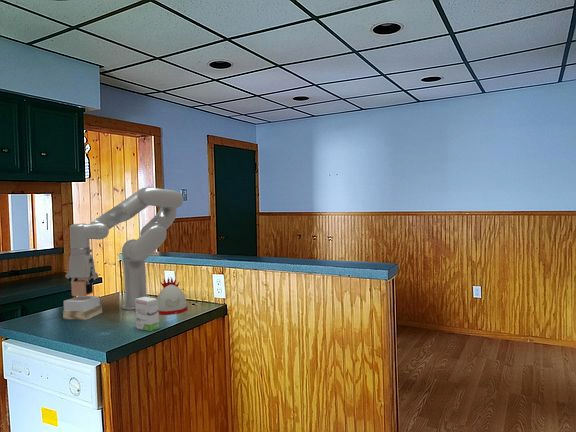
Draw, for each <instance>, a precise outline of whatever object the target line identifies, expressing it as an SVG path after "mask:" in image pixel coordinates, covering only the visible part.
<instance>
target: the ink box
mask: <svg viewBox="0 0 576 432" xmlns="http://www.w3.org/2000/svg"><path fill="white" fill-rule="evenodd" d="M135 307H136V309H135V322H136V323H135V324H136V329H138V330H143V331H147V332H152V331H156V330H158V329H160V314H159V311H158V299H157V298H156V297H154V298H153V297H150V296H149V297H141V298H136V299H135Z"/></svg>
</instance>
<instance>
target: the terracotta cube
mask: <svg viewBox="0 0 576 432" xmlns="http://www.w3.org/2000/svg"><path fill="white" fill-rule="evenodd" d="M70 284H71V289H70V290H71V297H78V296H90V295H91V294H94V286H93V285H94V282H93V283H92V292H91V293H89V294H87V293H86V285H87V282H86V280H85V278H79V279H78V280H77V281H74V282H70Z"/></svg>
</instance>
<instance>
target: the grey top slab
mask: <svg viewBox="0 0 576 432" xmlns="http://www.w3.org/2000/svg"><path fill="white" fill-rule="evenodd" d="M100 300H101V299H100V296H99V295H98V296H96V295H86V296H74V297H72V298H68V299H65V300H63V311H64V310H67V311H86V310H88V309H91V308H94V307H96V306H99V305H100V304H101V302H100Z"/></svg>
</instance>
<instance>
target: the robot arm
mask: <svg viewBox="0 0 576 432" xmlns="http://www.w3.org/2000/svg"><path fill="white" fill-rule="evenodd" d="M183 204H184V196H183V194H182V193H181V192H180V191H178V190H173V189H166V188H165V189H164V188H157V187H152V186H146V187H142V188H140V189H138V190H137V191H136V192H134V193H132V194H131V195H129V196H128V197H127V198H125V199H124V200H122V201H121V202H120V203H118V204H116V205H114V206H113V207H112V208H110V209H109V210H107V211H106V212H104V213H103V214H101V215H100V216H98V217H96V218H95V219H94V220H93V221H91V222H89V223H88V224H87V223H73V224H71V225H70V226H69V244H70V255H69V259H68V271H67V273H65V278H66V279H68V281H69V282H70V283H71V282H74V281H77V280H79V279H85V280H86V282H87V285H86V293H87V294H89V293H91V292H92V283H93V284H94V282H95V280H96V279H97V278H98V277H99V275H98V273H97V272H96V268H95V267H96V266H95V260H94V257H93V254H91V253H92V252H93V249H92V248H91V247H90V240H103V239H105V238H107V236H108V235H109V233H110V230H111V229H112V228H114V227H115V226H118V225H120V224H122V223H123V222H127V221H129V220H131V219H132V218H134V217H135V216H136V215H138V214H139V213H141V212H142V211H143V210H145V209H146V208H148V207H149V206H151V207H152V206H153V207H159V210H158V212H157V213H156V214H155V215H154V216H153V218H151V219H150V220H149V221H148V222H147V223H146V224H145V225H144V226H143V227H142V228H141V230H140V231H139V232H140V233H139V237H138V238H137V239H128V240H127V241H126V242H125V243H124V244H123V245H122V248H121V256H122V262H123V276H124V277H123V278H124V299H125V302H124V303H123V304H122V305H121V308H122V309H123V310H128V311H130V310H131V311H133V310H135V311H136V307H135V299H136V298H141V297H150V296H149V295H148V294H147V273H146V272H147V271H146V268H147V267H146V262H145V261H146V260H147V259H148V258H149V257H151V256H152V255H153V254H154V253H155V252H156V251H157V250H158V249H159V247H161V246H162V244H163V243H164V242H165V240H166V239H167V230H168V229H169V227H170V226H172V224H173V222H174V221H175V220H176V217H177V208H180V207H181V206H182V205H183ZM89 295H90V294H89Z"/></svg>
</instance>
